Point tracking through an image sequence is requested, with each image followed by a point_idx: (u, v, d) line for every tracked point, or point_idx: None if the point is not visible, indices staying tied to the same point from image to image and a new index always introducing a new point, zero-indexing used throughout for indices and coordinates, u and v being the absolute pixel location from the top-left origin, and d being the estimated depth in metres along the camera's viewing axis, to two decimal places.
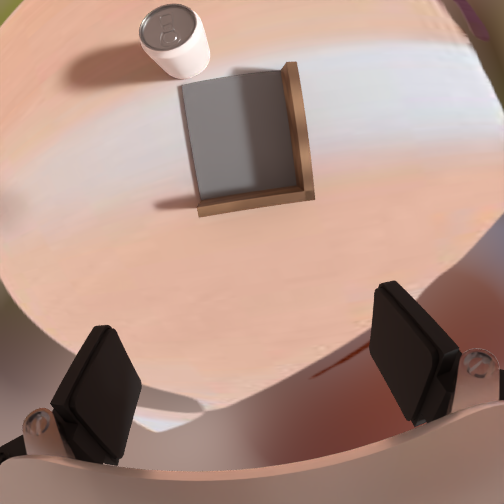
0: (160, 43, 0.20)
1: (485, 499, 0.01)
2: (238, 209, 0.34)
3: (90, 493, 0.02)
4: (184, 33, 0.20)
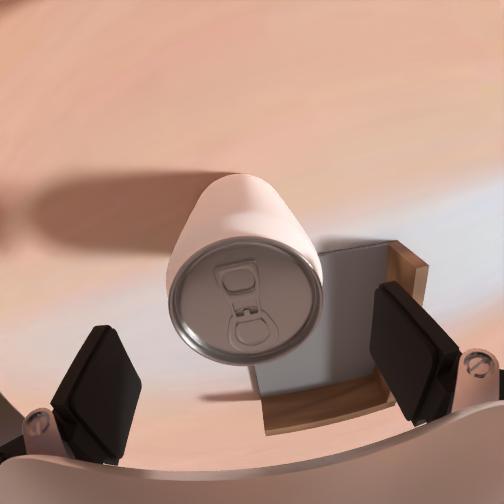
0: (230, 343, 0.11)
1: (485, 499, 0.01)
2: (312, 427, 0.25)
3: (90, 493, 0.02)
4: (287, 325, 0.11)
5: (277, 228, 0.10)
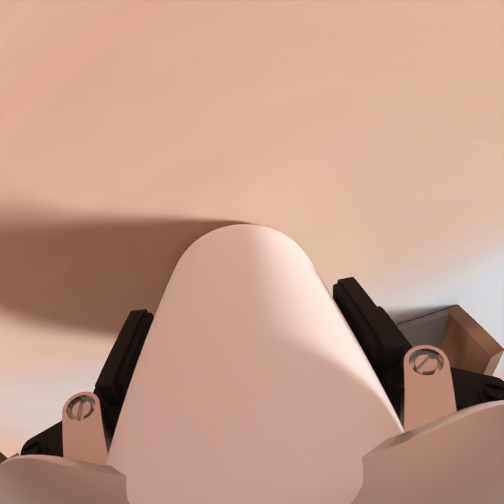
0: None
1: (485, 499, 0.01)
2: None
3: (90, 493, 0.02)
4: None
5: None
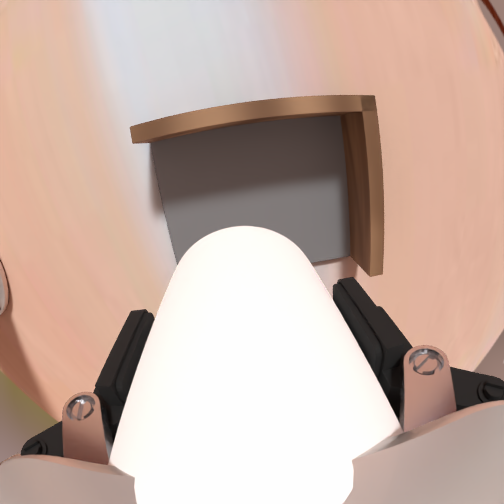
0: None
1: (485, 499, 0.01)
2: (382, 218, 0.20)
3: (90, 493, 0.02)
4: None
5: None
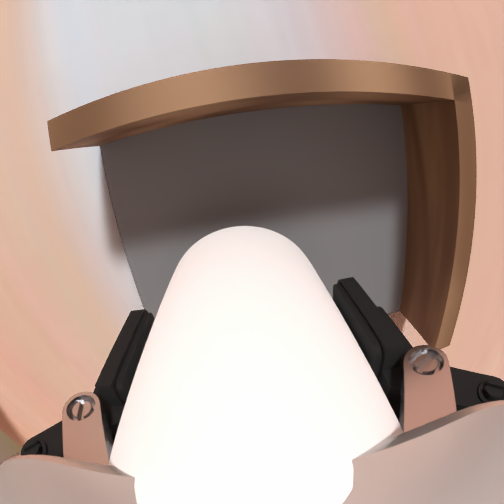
0: None
1: (485, 499, 0.01)
2: (465, 272, 0.11)
3: (90, 493, 0.02)
4: None
5: None
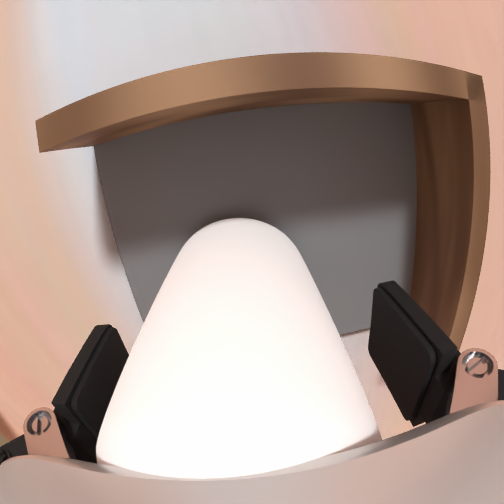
0: None
1: (485, 499, 0.01)
2: (476, 280, 0.10)
3: (90, 493, 0.02)
4: None
5: (315, 453, 0.03)
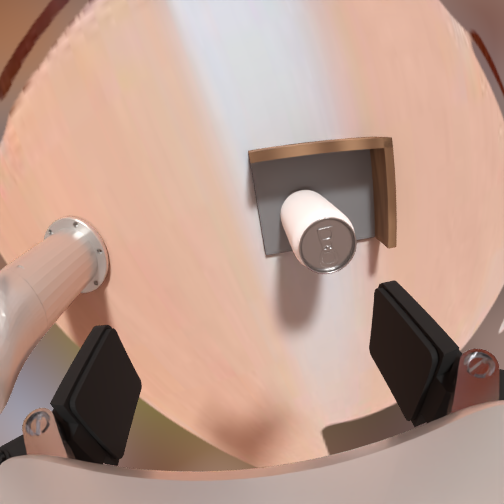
0: (319, 263, 0.27)
1: (485, 499, 0.01)
2: (395, 211, 0.33)
3: (90, 493, 0.02)
4: (342, 254, 0.27)
5: (339, 215, 0.26)
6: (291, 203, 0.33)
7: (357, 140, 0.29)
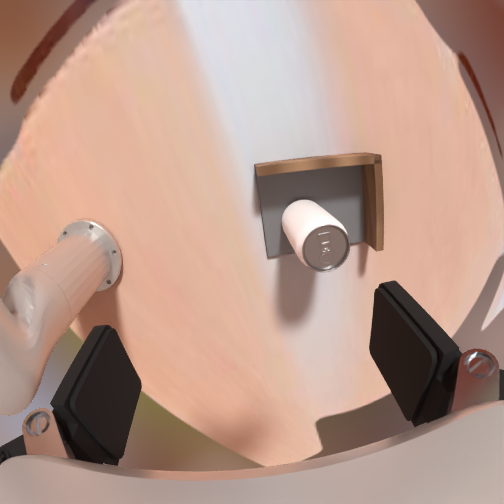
0: (319, 263, 0.32)
1: (485, 499, 0.01)
2: (382, 219, 0.38)
3: (90, 493, 0.02)
4: (338, 255, 0.32)
5: (335, 222, 0.31)
6: (292, 211, 0.38)
7: (351, 157, 0.35)
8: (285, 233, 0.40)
